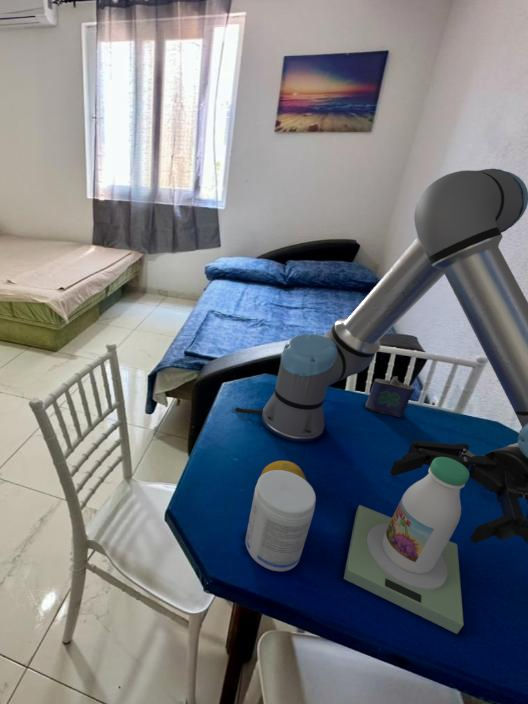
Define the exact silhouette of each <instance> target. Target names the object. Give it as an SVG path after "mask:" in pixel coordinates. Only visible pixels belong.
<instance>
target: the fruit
mask: <svg viewBox="0 0 528 704" xmlns="http://www.w3.org/2000/svg"><path fill="white" fill-rule="evenodd" d="M273 470H283V471H288V472H291V473H294V474H296V475H298V476H300V477H301V478H303V479H304V480H306V481H307V478H306V475H305V473H304V472H303V470H302V469H301V468H300V466H299V465H297V464H296V463H294V462H291V461H289V460H276V461H273V462H271V463H269V464H267V465H266V466H265V467H264V468H263V470H262V471H261V474H260V476H261V475H263V474H264V473H266V472H268V471H273Z"/></svg>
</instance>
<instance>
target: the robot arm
mask: <svg viewBox="0 0 528 704" xmlns="http://www.w3.org/2000/svg"><path fill="white" fill-rule="evenodd" d="M527 207H528V188H527V185H526V184H525V182H524V181H523V179H522V178H520V177H519V176H518V175H516V174H514V173H512V172H510V171H505V170H503V169H500V168H498V169H497V168H485V169H480V170H468V169H467V170H458V171H455V172H451V173H448V174H445V175H443V176H441V177H440V178H437V179H436V180H435V181H433V182H432V183H431V184H430V185H428V186H427V187H426V188H425V190H424V191H423V192H422V193H421V194H420V197H419V198H418V200H417V203H416V206H415V210H414V217H413V218H414V227H415V230H416V238H415V239H414V240H413V241H412V243H411V244H410V245H409V247H407V248H406V250H405V251H404V252H403V253H402V254H401V256H400V257H399V258H398V259H397V260H396V261H395V262H394V264H393V265H392V266H391V268H389V269H388V271H387V272H386V273H385V274H384V275H383V277H381V279H380V280H378V283H376V285H375V286H374V287H373V288H372V290H371V291H370V292H368V294H367V295H366V296H365V298H364V299H363V300H362V301H361V302H360V304H359V305H358V306H357V307H356V308H355V309H354V310H353V311H352V313H351V314H350V315H349V316H348V317H343V318H339V319H337V320H336V321H335V323H334V324H333V325H332V326H331V327H330V328H329V330H328V331H327V332H326V333H325V335H320V334H314V333H310V334H305V333H304V334H298V335H296V336H293V337H291V338H290V339H288V340H287V341H286V342H285V344H284V347H283V350H282V352H281V355H280V363H279V367H278V372H277V377H276V382H275V388H274V391H273V394H272V395H271V396H270V397H269V400H267V402H266V404H265V405H264V407H263V409H256V408H255V409H254V408H242V407H235V412H239V413H245V414H257V415H258V414H259V415H261V417H260V418H261V422H262V424H263V426H264V427H265V428H266V429H267V431H269V432H270V433H271V434H272V435H275V436H276V437H278V438H281V439H282V440H286V441H289V442H294V443H311V442H314V441H317V440H318V439H320V438H321V437H322V435H323V434H324V430H325V425H326V422H327V420H326V419H325V416H324V407H323V405H324V401H325V398H326V394H327V391H328V388H329V386H332V385H334V384H336V383H339V382H340V381H342V380H344V379H347V378H350V377H351V376H354V375H356V374H359V373H361V372H363V371H364V370H366V369H367V368H368V367H369V366H370V365H371V364H372V363H373V361H374V359H375V356H376V354H377V353H378V351H380V349H381V342H380V340H381V339H382V338H383V337H384V336H385V335H386V334H387V333H388V332H389V331H390V330H391V329H392V328H393V327H394V326H395V325H396V324H397V323H398V322H399V321H400V320H401V319H402V318H403V317H404V316H405V315H406V314H407V313H408V312H409V311H410V310H411V309H412V308H413V307H414V306H415V305H416V303H418V302H419V301H420V300H421V299H422V298H423V296H425V295H426V293H427V292H429V291H430V290H431V288H433V287H434V285H435V284H437V282H439V281H440V280H441V279H442V277H444V275H445V277H446V278H445V279H446V280H447V281H448V283H449V286H450V287H451V289H452V291H453V293H454V295H455V297H456V299H457V301H458V303H459V305H460V307H461V309H462V311H463V313H464V315H465V317H466V319H467V321H468V323H469V325H470V327H471V328H472V331H473V333H474V335H475V337H476V338H477V341H478V343H479V344H480V347H481V348H482V350H483V352H484V354H485V357H486V358H487V361H488V362H489V364H490V367H491V368H492V370H493V372H494V374H495V375H496V378H497V380H498V382H499V384H500V386H501V388H502V390H503V392H504V394H505V396H506V398H507V400H508V402H509V404H510V405H511V407H512V409H513V412H514V413H515V415H516V417H517V420H518V422H519V424H520V426H521V429H519V431H518V435H517V442H516V443H512V444H509V445H507V446H503V447H501V448H497V449H494V450H491V451H489V452H487V453H485V454H482V455H480V454H474V453H472V452H471V451H470V450H469V448H470V446H469V444H467V443H463V442H461V443H456V444H453V443H443V442H442V443H441V442H431V441H420V440H412V442H411V443H410V446H409V448H408V450H407V453H404V454H403V456H402V458H401V459H397V460H394V462H393V465H392V467H391V470H390V471H389V474H390V475H392V476H393V477H395V476H400V475H402V474H404V473H408V472H411V471H414V470H417V469H421V468H422V467H423V465H426V466H429V467H430V466H431V463H432V461H433V460H434V459H435V458H437V457H447V458H451V459H453V460H456V461H458V462H459V463H461V464H462V465H464V466H465V467H466V468H467V469H468V471H469V478H470V479H472V480H473V481H475V482H476V483H478V484H480V485H482V486H483V487H484V489H486V490H487V491H488V492H490V493H495V496H496V500H497V502H498V503H499V504H500V508H501V510H502V515H503V516H500V517H498V518H495V519H493V520H490V521H488V522H485V523H482V524H479V525H477V527H476V528H475V530H474V531H473V533H472V534H471V536H470V538H469V540H470V541H471V542H472V543H473V544H478V543H480V542H482V541H484V540H487V539H490V538H491V537H495V538H497V539H498V540H500V541H504V540H506V539H508V538H511V537H513V536H514V537H515V536H519V537H521V538H523V540H524V542H525V543H527V544H528V511H527V512H526V518H525V516H524V513H523V511H522V507H521V503H520V500H519V499H525V503H526V508H528V300H527V299H526V296H525V294H524V293H523V291H522V288H521V287H520V285H519V283H518V282H517V279H516V277H515V275H514V274H513V271H512V270H511V268H510V266H509V265H508V262H507V260H506V259H505V257H504V255H503V253H502V252H501V249H500V247H499V246H500V243H501V241H502V239H503V234H502V233H504V232H506V231H507V230H509V229H510V228H513V226H514V225H515V224H517V222H519V221H520V220H521V218H522V217H523V216H524V213H526V210H527Z"/></svg>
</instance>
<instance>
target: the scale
mask: <svg viewBox="0 0 528 704" xmlns="http://www.w3.org/2000/svg"><path fill="white" fill-rule="evenodd" d="M391 519H392V517H390V516H388V515H386V514H383V513H381V512H378V511H376V510H373V509H371V508H369V507H366V506H364V505H361V504H359V505H358V507H357V510H356V512H355V517H354V521H353V527H352V533H351V537H350V543H349V547H348V548H349V549H348V553H347V558H346V564H345V569H344V575H343V580H345V581H347V582H349V583H352V584H353V585H356V586H358V587H360V588H362V589H364V590H365V591H368V592H369V593H372V594H373V595H376V596H378V597H379V598H382V599H384V600H386V601H388V602H390V603H392V604H394V605H397V606H399V607H401V608H403V609H404V610H407V611H409V612H411V613H413V614H415V615H417V616H419V617H421V618H423V619H425V620H427V621H429V622H431V623H433V624H436V625H438V626H440V627H442V628H444V629H446V630H448V631H450V632H451V633H453V634H456V635H458V634H459V632H460V631H461V630H462V628H463V627H464V624H465V623H464V613H463V599H462V587H461V576H460V575H461V573H460V560H459V550H458V544H457V543H455V542H452V541H451V540H449V541H448V543H447V545H446V546H445V548H444V550H443V552H442V553H441V555H440V557H439V558H438V560H437V562H436V564H435V565H434V567H433V568H432V569H431V570H430V571H429V572H426V573H422V574H421V573H412V572H409V571H407V570H405V569H402V568H401V567H399V566H398V565H396V564H395V563H394V562H393V561H392V560H391V559H390V558H389V557H388V556H387V555H386V553H385V551H384V548H383V544H382V540H383V537H384V534H385V532H386V530H387V528H388V526H389V524H390V521H391Z"/></svg>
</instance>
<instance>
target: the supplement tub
mask: <svg viewBox="0 0 528 704" xmlns="http://www.w3.org/2000/svg"><path fill="white" fill-rule="evenodd" d="M316 501H317V497H316V492H315V490H314V488H313V486H312V485H311V484H310V483H309V482H308V481H307V479H306V480H304V479H303V478H301V477H300V476H298V475H296V474H294V473H291V472H288V471H283V470H273V471H268V472H266V473H264V474H263V475H261V474H260V476H259V478H258V480H257V483H256V485H255V488H254V493H253V498H252V504H251V509H250V514H249V518H248V525H247V530H246V534H245V535H246V536H245V546H246V549H247V551H248V553H249V555H250V557H251V558H252V559H253V560H254V561H255V562H256V564H259V565H260V566H262V567H264V568H265V569H267V570H269V571H273V572H287V571H290V570H292V569H294V568H295V567H296V566H297V565H298V564H299V562H300V560H301V557H302V553H303V550H304V547H305V543H306V540H307V536H308V533H309V530H310V527H311V523H312V520H313V517H314V512H315V508H316Z"/></svg>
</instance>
